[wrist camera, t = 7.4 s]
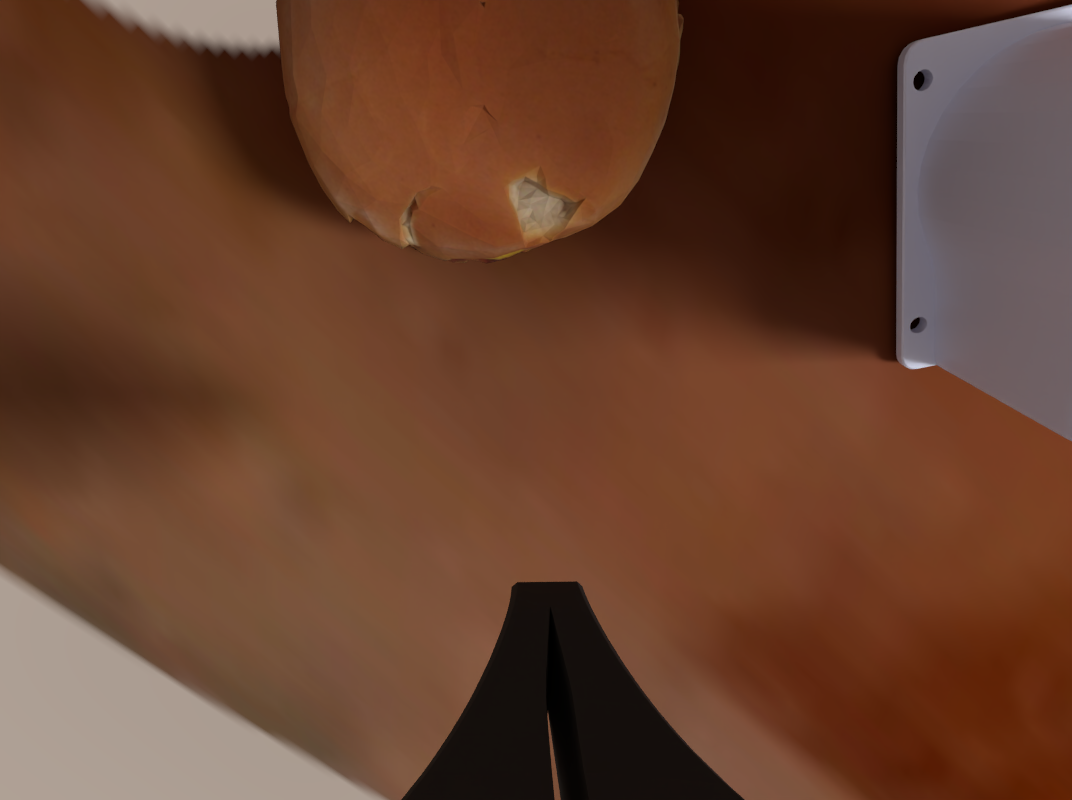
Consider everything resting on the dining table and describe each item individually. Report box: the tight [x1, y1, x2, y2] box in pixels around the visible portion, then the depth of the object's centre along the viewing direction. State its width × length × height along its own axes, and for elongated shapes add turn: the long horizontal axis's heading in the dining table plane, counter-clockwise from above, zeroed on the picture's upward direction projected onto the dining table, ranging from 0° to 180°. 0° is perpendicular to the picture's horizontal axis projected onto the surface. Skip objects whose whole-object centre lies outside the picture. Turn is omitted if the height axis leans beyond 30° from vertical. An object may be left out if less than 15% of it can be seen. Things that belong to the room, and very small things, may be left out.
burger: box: [276, 0, 684, 263], centre depth 16 cm, size 10×9×5 cm
